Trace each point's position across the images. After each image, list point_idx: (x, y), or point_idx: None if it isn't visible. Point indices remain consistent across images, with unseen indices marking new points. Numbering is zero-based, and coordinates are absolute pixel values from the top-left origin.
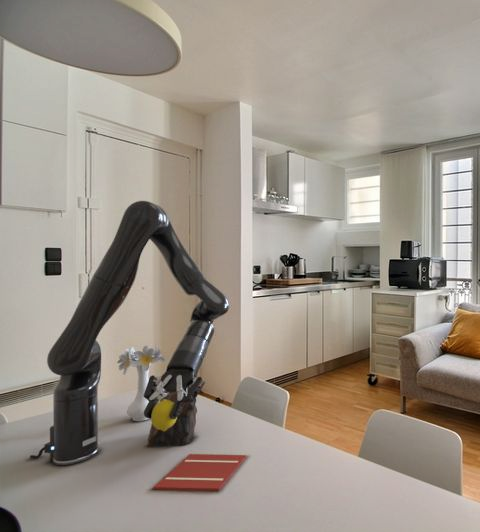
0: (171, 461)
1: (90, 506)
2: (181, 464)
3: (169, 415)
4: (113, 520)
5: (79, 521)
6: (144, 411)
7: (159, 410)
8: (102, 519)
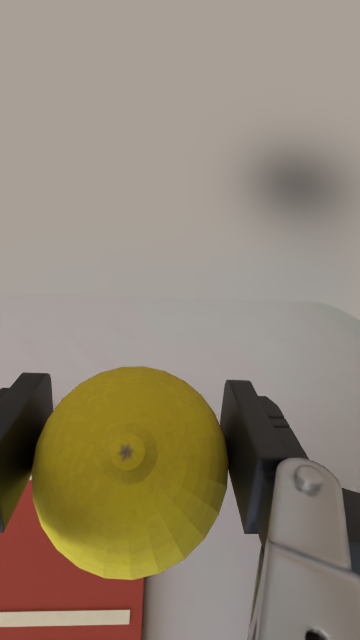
0: (194, 625)
1: (263, 358)
2: (130, 581)
3: (46, 373)
4: (170, 313)
5: (241, 312)
6: (273, 407)
7: (128, 367)
8: (197, 316)
